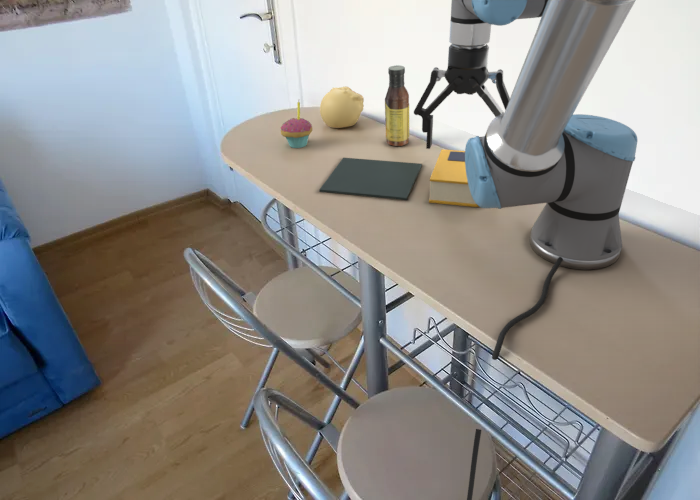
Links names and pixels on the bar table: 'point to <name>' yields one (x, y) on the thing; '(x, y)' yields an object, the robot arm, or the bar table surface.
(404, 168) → the desk mat
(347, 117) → the sculpture
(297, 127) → the cupcake
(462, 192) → the yellow box with panel
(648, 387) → the bar table surface
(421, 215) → the bar table surface
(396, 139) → the sauce bottle
